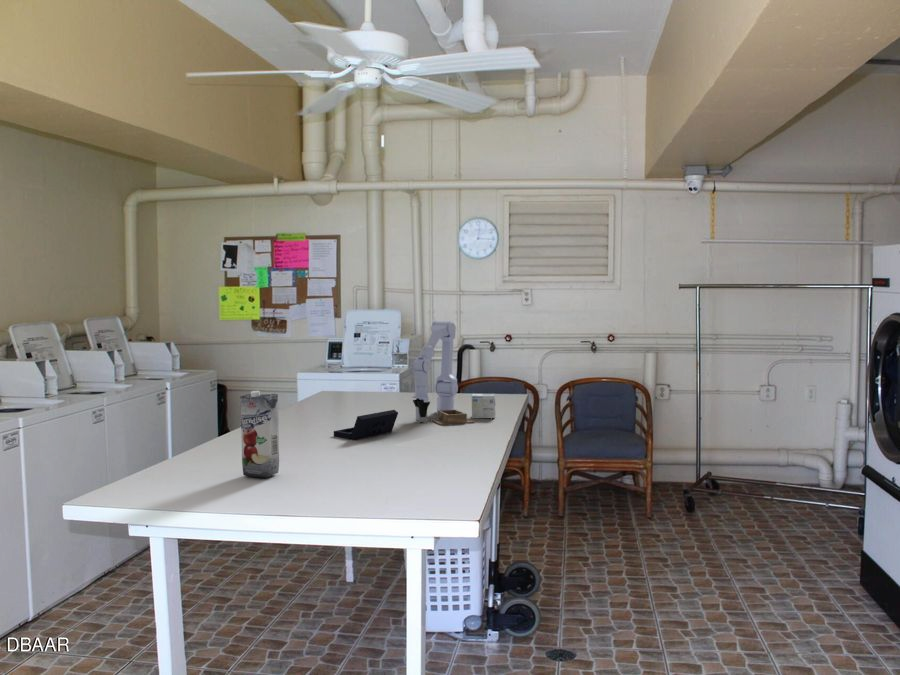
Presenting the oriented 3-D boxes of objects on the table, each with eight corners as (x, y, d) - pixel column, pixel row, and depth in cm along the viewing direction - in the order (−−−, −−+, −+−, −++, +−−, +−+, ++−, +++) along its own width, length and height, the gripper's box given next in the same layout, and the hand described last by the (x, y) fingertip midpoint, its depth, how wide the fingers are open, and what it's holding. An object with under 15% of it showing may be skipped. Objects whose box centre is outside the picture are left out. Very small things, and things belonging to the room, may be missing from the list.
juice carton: (255, 470, 240) (253, 388, 239) (283, 472, 237) (281, 389, 235) (238, 476, 232) (236, 391, 230) (266, 479, 228) (264, 392, 227)
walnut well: (430, 420, 332) (429, 411, 332) (463, 417, 337) (462, 408, 337) (440, 425, 319) (440, 415, 319) (474, 422, 324) (474, 413, 324)
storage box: (370, 429, 312) (370, 406, 311) (398, 434, 301) (398, 410, 301) (333, 437, 296) (333, 412, 295) (361, 442, 285) (361, 416, 285)
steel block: (415, 421, 329) (415, 406, 328) (424, 421, 330) (424, 405, 330) (418, 423, 325) (418, 407, 324) (427, 422, 326) (427, 406, 326)
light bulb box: (495, 416, 341) (495, 393, 340) (495, 419, 334) (494, 395, 333) (472, 416, 342) (472, 393, 341) (471, 419, 335) (471, 395, 334)
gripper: (407, 384, 332) (408, 414, 333) (417, 388, 318) (417, 419, 319) (422, 383, 334) (422, 413, 335) (433, 387, 321) (433, 418, 322)
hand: (421, 416), depth 327 cm, fingers closed on steel block, 4 cm apart
